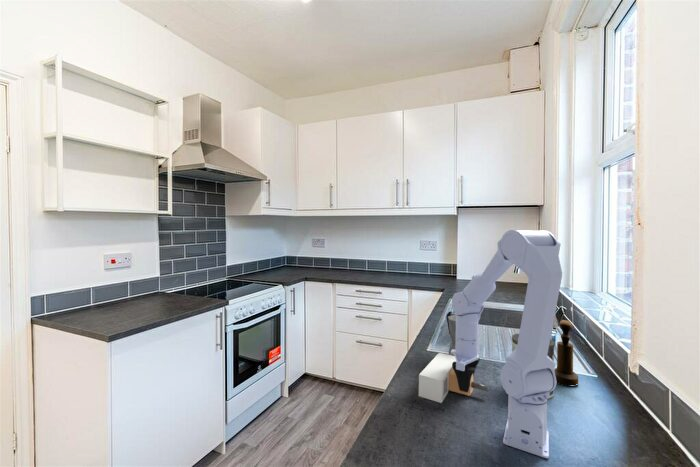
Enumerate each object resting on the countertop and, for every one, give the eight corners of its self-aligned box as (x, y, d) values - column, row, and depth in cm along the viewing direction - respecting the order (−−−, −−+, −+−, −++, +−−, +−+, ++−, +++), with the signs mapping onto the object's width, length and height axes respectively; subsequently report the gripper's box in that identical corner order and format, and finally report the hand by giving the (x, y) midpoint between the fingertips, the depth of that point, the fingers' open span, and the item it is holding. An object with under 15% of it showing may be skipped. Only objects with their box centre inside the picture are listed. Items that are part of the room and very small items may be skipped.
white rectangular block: (441, 403, 79) (442, 380, 79) (418, 396, 83) (419, 374, 83) (458, 375, 95) (459, 357, 94) (438, 370, 98) (439, 352, 98)
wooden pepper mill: (554, 374, 97) (555, 316, 96) (580, 381, 92) (581, 320, 92) (548, 381, 92) (550, 320, 92) (575, 389, 87) (577, 325, 87)
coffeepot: (487, 371, 98) (488, 314, 98) (461, 374, 95) (462, 315, 95) (458, 352, 113) (459, 302, 113) (434, 354, 110) (435, 304, 110)
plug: (486, 400, 80) (486, 383, 80) (436, 386, 87) (436, 370, 87) (488, 394, 84) (489, 377, 84) (440, 380, 91) (440, 365, 91)
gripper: (458, 327, 93) (457, 373, 93) (444, 342, 81) (443, 394, 81) (483, 332, 89) (482, 379, 89) (473, 348, 77) (472, 402, 77)
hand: (465, 387), depth 85 cm, fingers closed on plug, 4 cm apart
